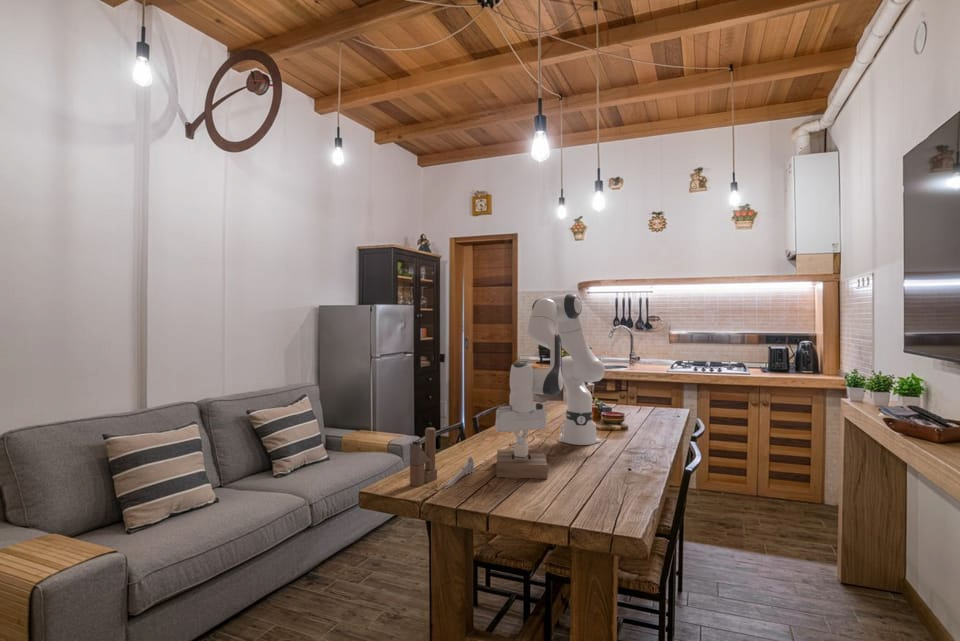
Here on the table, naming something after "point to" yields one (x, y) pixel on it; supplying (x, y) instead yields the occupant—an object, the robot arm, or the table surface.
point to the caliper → (462, 472)
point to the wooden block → (423, 460)
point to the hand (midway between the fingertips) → (521, 441)
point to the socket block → (522, 465)
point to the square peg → (521, 450)
